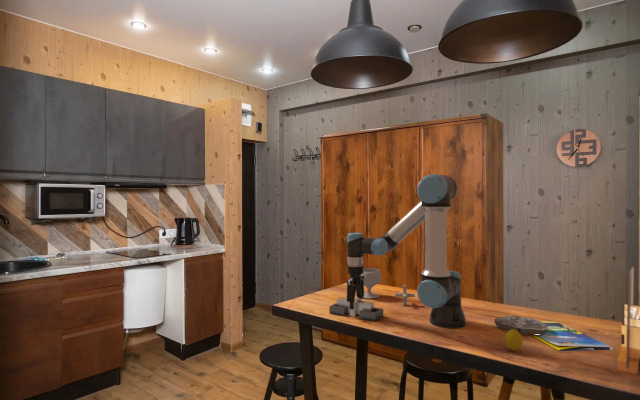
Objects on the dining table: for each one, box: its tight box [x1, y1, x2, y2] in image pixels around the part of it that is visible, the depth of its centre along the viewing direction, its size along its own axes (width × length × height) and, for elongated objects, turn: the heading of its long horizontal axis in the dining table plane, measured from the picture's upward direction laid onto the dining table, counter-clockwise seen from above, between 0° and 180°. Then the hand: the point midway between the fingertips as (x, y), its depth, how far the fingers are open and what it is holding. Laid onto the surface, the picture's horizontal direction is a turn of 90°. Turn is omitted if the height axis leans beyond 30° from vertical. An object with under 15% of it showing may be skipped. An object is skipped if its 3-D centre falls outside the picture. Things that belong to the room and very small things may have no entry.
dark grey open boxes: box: [329, 302, 384, 322], centre depth 180 cm, size 24×9×4 cm, turn 58°
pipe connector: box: [394, 284, 416, 306], centre depth 196 cm, size 10×10×10 cm
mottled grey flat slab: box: [494, 315, 549, 336], centre depth 159 cm, size 20×17×3 cm
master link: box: [336, 297, 375, 315], centre depth 180 cm, size 18×4×6 cm, turn 58°
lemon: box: [504, 329, 523, 352], centre depth 135 cm, size 6×6×8 cm
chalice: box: [361, 267, 382, 300], centre depth 214 cm, size 14×14×15 cm
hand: (355, 313), depth 180 cm, fingers open, 6 cm apart
